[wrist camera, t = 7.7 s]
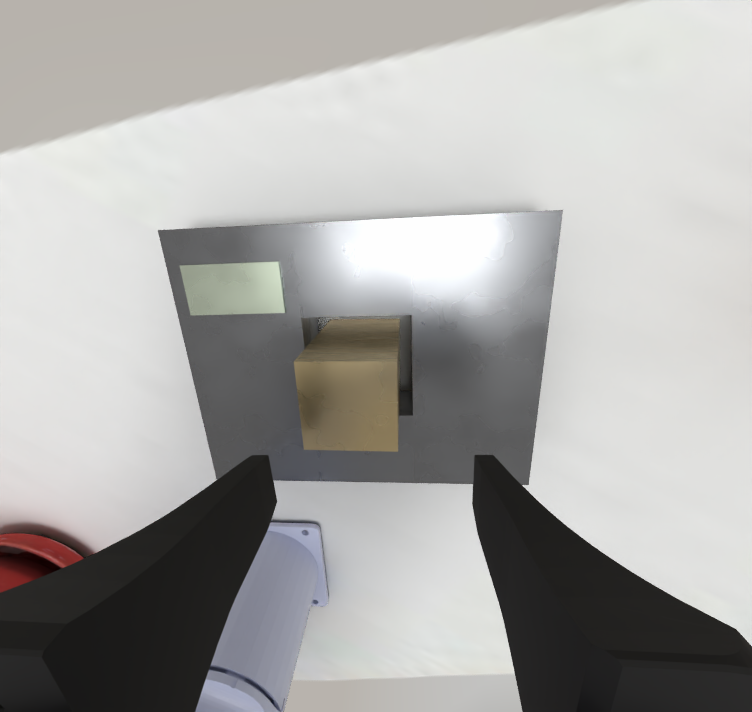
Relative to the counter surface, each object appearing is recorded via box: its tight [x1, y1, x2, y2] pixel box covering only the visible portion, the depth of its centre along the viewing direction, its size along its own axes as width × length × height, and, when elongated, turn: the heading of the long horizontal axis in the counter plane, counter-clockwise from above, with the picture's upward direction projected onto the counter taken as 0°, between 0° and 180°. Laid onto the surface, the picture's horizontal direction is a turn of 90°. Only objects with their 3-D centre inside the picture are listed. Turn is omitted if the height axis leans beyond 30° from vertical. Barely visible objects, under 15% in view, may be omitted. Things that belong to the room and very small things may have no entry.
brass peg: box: [294, 319, 400, 452], centre depth 17 cm, size 4×4×7 cm
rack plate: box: [158, 210, 563, 485], centre depth 19 cm, size 18×14×3 cm
